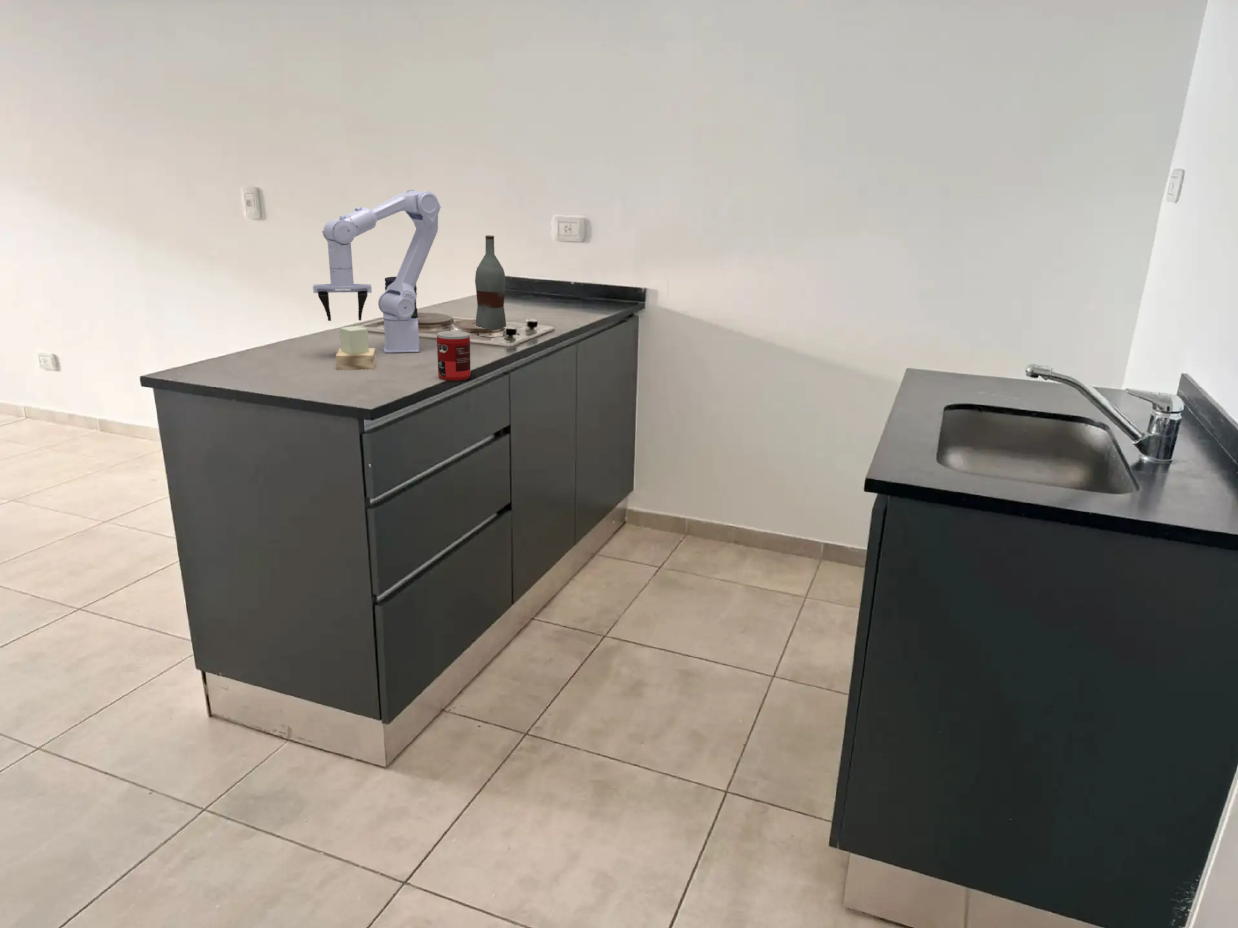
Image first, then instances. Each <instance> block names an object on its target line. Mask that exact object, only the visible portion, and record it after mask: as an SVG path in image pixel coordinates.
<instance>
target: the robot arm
mask: <svg viewBox="0 0 1238 928" xmlns="http://www.w3.org/2000/svg"><path fill="white" fill-rule="evenodd" d="M441 208H442V207H441V205H440V201H439V200H438V198H437V196H436V195H435V194H434V193H433V192H432V191H430V190H429V191H427V190H426V191H418V190H414V189H410V190H406V191H403V192H400V193H398V194H396V195H394V196H393V197H391V198H390V199H387V200H385V201H383V202H382V203H380V204H378V205H376V206H373V207H372V208H368V207H365V206H364V207H362V206H357V207H354V211H352V212H350V213H347V214H341V215H339V218H338V219H330V220H328V221H327V222H326V223H325V224H324V226H323V230H322V236H323V237H324V239H325V240H326V241H327V250H328V251H327V252H328V265H329V277H330V283H322V284H321V283H320V284H313V285H312V291H313V294H317V296H318V298H319V300H320V302H321V304H322V306H323V309H324V311H325V314H326V317H327V321H328V322H332V315H331V310H330V296H329V293H332V294H333V293H357V304H358V306H357V307H358V316H357V317H358V321H362V316H363V310H364V306H365V304H366V303H365V302H366V300H367V298H368V293H370V294H371V293H373V292H372V284H371V283H369V284H368V283H367V284H366V283H365V284H363V283H354V271H353V269H354V267H353V256H352V252H353V251H352V242H353V241H354V239H355V237H358V236H360V235H362V234H364V233H366V232H368V231H371V230H372V229H375V227H376V225H377V222H378V221H380V220H382V219H385V218H388V217H390V216H393V215H395V214H397V213H399V212H405V214H407V215H408V217H409V218H410V219H411V220H412V222H413V225H414V227H415V231H414V233H413V236H412V239H411V241H410V243H409V246H408V249H407V251H406V253H405V256H404V258H403V260H402V263H401V265H400V268H399V269H398V273H397V275H396V276H395V277H396V279H395V281H394V282H393V283H392V284H390V285H389V286H388V287H387V289H386V290H384V292H383V293H382V294H381V295H380V296H379V299H378V301H377V303H378V309H379V310H380V312H381V313H382V314H383V315H382V316H383V331H384V344H385V345H383V352H384V353H385V354H386V353H387V354H388V353H420V345H421V340H420V338H419V337H420V336H419V320H418V318H417V319H416V318H411V316H412V315H413V313H414V310H415V300H416V301H417V298H418V297H417V296H416V294H415V291H414V287H415V285H416V286H417V282H418V281H419V280H418V279H419V277H420V276H421V273H422V270H423V268H424V265H425V263H426V260H427V258H428V256H429V253H430V251H431V248H432V246H433V243H434V241H435V239H436V237H437V234H438V230H439V213H440V210H441Z"/></svg>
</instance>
